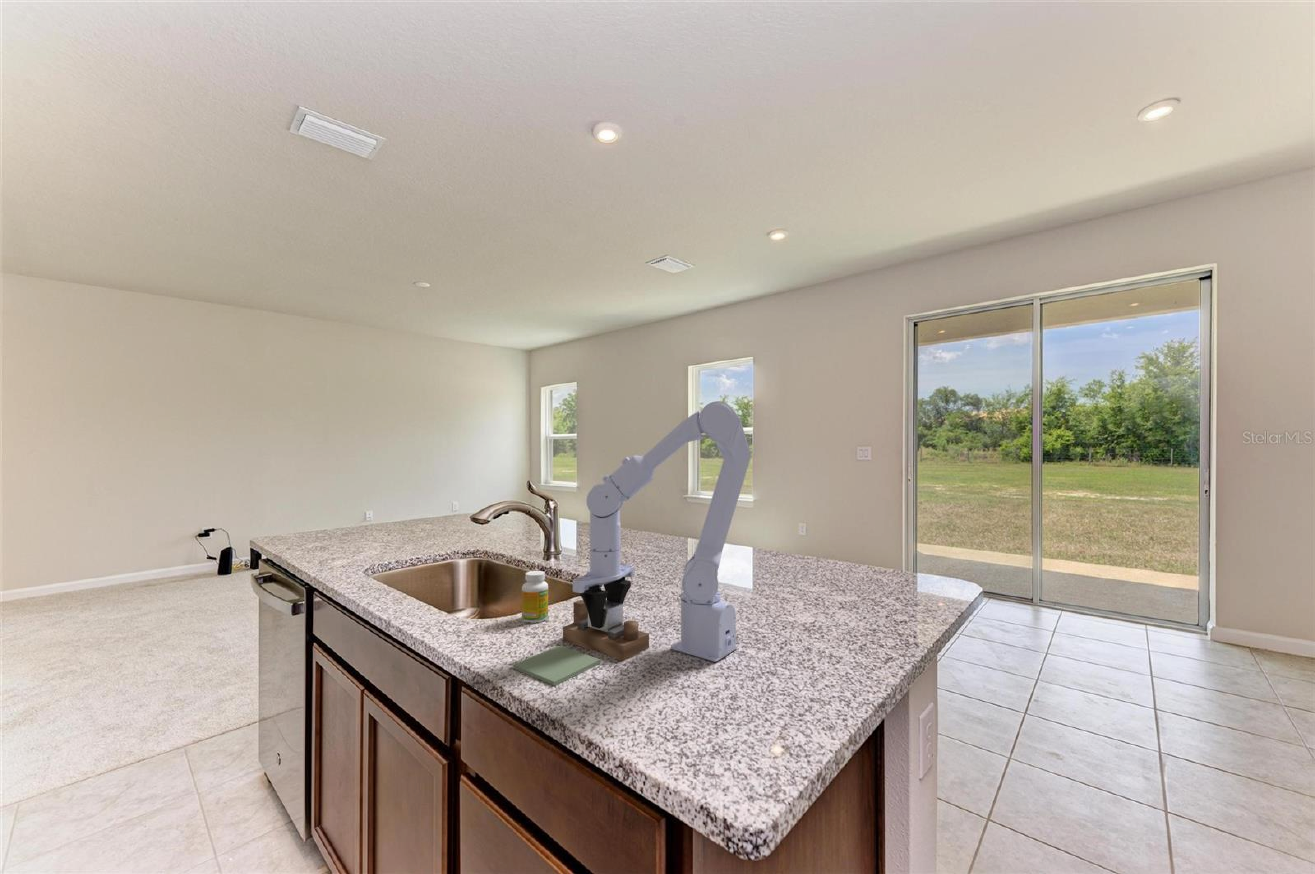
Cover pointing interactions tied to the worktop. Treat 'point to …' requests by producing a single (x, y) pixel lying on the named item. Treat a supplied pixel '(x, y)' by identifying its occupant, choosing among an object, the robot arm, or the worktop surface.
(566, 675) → the rubber mat
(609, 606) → the lever cap
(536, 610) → the supplement bottle
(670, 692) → the worktop surface
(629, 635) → the plane body
